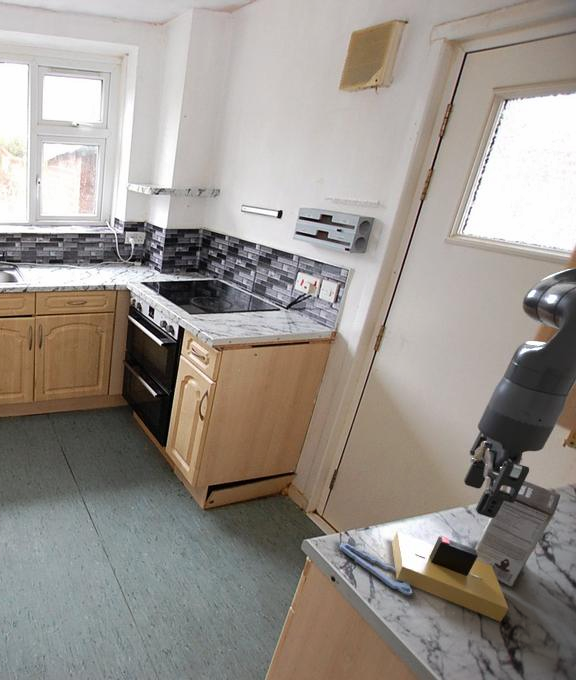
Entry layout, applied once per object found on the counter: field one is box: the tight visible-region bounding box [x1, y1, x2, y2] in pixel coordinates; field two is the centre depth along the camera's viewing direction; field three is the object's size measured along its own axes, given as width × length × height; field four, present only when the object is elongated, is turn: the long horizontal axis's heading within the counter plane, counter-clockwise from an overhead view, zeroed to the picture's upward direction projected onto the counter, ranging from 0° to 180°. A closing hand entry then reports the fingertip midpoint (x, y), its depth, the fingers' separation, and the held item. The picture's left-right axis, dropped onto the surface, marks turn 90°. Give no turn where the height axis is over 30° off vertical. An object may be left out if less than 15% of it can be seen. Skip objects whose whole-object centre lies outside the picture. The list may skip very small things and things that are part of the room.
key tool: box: [339, 542, 413, 596], centre depth 81 cm, size 12×1×5 cm
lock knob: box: [430, 535, 478, 576], centre depth 78 cm, size 5×2×5 cm, turn 59°
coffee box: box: [474, 480, 561, 587], centre depth 81 cm, size 9×6×16 cm
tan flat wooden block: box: [391, 530, 509, 623], centre depth 79 cm, size 14×10×3 cm
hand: (477, 499), depth 74 cm, fingers open, 8 cm apart
